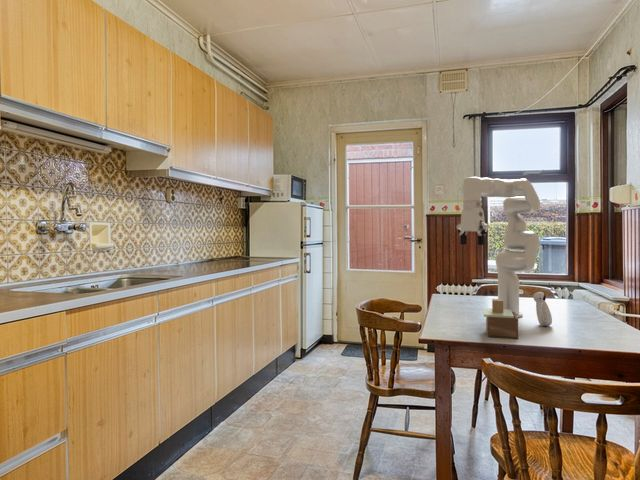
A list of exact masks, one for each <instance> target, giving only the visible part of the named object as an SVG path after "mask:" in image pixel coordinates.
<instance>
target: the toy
mask: <svg viewBox="0 0 640 480" xmlns="http://www.w3.org/2000/svg"><path fill="white" fill-rule="evenodd" d="M546 299H547V297H546V294H545V293H544V292H543V291H537V292H535V293H534V294H533V300H534V302H535V309H536V310H535V311H536V317H537V321H538V323H539V325H540V326H543V327H548V326H551V325H552V323H553V316H552V312H551V310H550V308H549V305H548V304H547V302H546Z"/></svg>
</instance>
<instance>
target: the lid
mask: <svg viewBox="0 0 640 480" xmlns="http://www.w3.org/2000/svg"><path fill="white" fill-rule="evenodd" d="M491 300H492V301H491V306H492V308H487V307H486V308H485V307H483V308H482V310H483V317H502V318H514V315H513V313H512V311H511V310H510V309H503V299H498V298H492V299H491Z"/></svg>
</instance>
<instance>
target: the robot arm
mask: <svg viewBox="0 0 640 480" xmlns="http://www.w3.org/2000/svg"><path fill="white" fill-rule="evenodd" d="M461 190H462V210H461V216H460V223H458V224H457V225H455V226H456V227H455V228H456V230H457V233H458V234H459V235H458V236H460V245H467V244H468V242H467V241H468V239H467V238H468V237H467V233H468V232H476V233H477V234H478V235H477V245H478V246H484V245H485V236H486V234H487V233H488V229H489V227H490V226H489V224H488V223H486V222H485V220H486V219H485V212H484V209H483V208H482V206H483V204H484V203H483V202H482V197H485V198H505V199H504V200H503V202H502V203H503V206H502V207H503V210H504V213H505V216H506V218H507V227H506V231H505V235H504V240H503V247H504V248H505V249H506V250H504V251H500V252H498V253H497V255H495V265H496V269H497V299H503V309H510V310H511V311H512V312H515V314H516V316H517V317H518V318H521V317H523V313H522V312H520V279H519V276H518V275H517V273H516V272H521V273H522V272H523V273H524V272H525V273H526V272H527V273H528V272H531V271H533V269H534V267H535V265H536V259H537V256H538V252H539V247H540V238H539V234H537V232H534V231H530V230H529V231H528V230H527V231H526V229H527V222H526V220H525V219H524V217H522V215H521V214H533V213H537V212H538V211H539V210H540V207H541V201H540V198H539V196H538V194H537V191H536V190H535V188H534V185H533V184H532V183H531V181H529V180H528V179H527V178H520V179H519V178H517V179H501V178H490V177H478V176H470V177H465V178H463V181H462V187H461Z"/></svg>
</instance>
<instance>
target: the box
mask: <svg viewBox="0 0 640 480" xmlns="http://www.w3.org/2000/svg"><path fill="white" fill-rule="evenodd" d="M512 313H513V315H514V318H502V317H486V318H485V319H486V322H485V323H486V324H485V325H486V335H487V337H488V338H495V339H496V338H497V339H509V340H511V339H512V340H519V317H517V316H516V314H515V312H512Z"/></svg>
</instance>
